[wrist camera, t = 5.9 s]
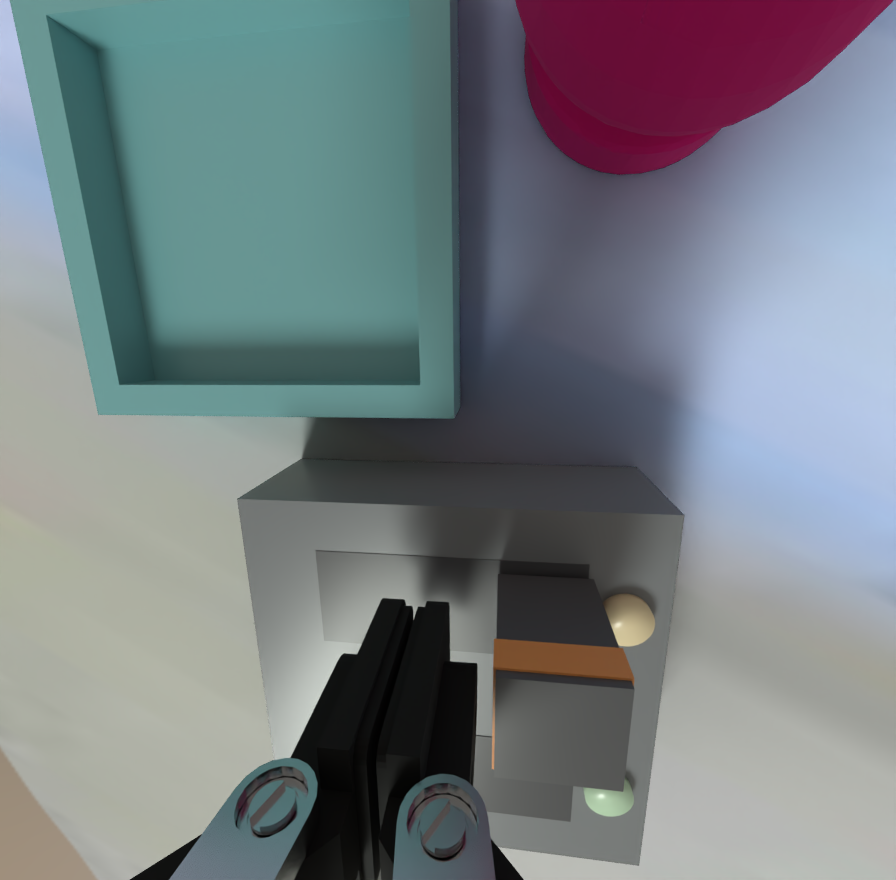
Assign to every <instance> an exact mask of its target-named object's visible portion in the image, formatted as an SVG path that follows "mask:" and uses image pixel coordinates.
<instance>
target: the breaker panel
mask: <svg viewBox="0 0 896 880" xmlns="http://www.w3.org/2000/svg"><path fill="white" fill-rule="evenodd" d="M237 500H238V508H239V515H240V522H241V529H242V536H243V543H244V550H245V557H246V564H247V572H248V579H249V586H250V593H251V600H252V607H253V614H254V621H255V628H256V636H257V643H258V650H259V657H260V664H261V671H262V678H263V685H264V692H265V699H266V707H267V714H268V721H269V728H270V735H271V742H272V749H273V756H274V760H277V759H282V758H290V757H291V755H292V753H293V751H294V749H295V747H296V745H297V743H298V741H299V739H300V737H301V735H302V733H303V731H304V729H305V727H306V725H307V723H308V721H309V719H310V717H311V715H312V712H313V710H314V708H315V706H316V704H317V702H318V700H319V698H320V696H321V694H322V692H323V690H324V688H325V686H326V684H327V682H328V680H329V678H330V676H331V674H332V672H333V670H334V668H335V665H336V663H337V661H338V660H339V658H340V656H341V655H342V654H344V653H346V654H358V651H359V649H360V647H361V645H362V642H363V640H364V638H365V635H366V633H367V631H368V629H369V626H370V624H371V622H372V619H373V617H374V615H375V613H376V610H377V608H378V606H379V604H380V601H381V600H382V599H383V598H389V599H404V600H405V602H406V606H412V607H413V617H415V614H416V611H417V608H418V607H425V605H426V602H427V601H440V602H449V605H450V661H453V662H467V663H477V667H478V678H477V724H476V744H475V763H474V782H473V787H474V788H475V789H476V790H477V791H478V793H479V794H480V796H481V798H482V799H483V801H484V803H485V807H486V811H487V814H488V819H489V828H490V836H491V839H492V840H493V842H494V843H495V844H496V845H497V847H502V848H510V849H517V850H525V851H532V852H540V853H547V854H555V855H562V856H570V857H577V858H585V859H593V860H600V861H608V862H615V863H623V864H630V865H638V866H639V861H640V854H641V846H642V838H643V831H644V823H645V815H646V807H647V800H648V792H649V784H650V777H651V769H652V761H653V753H654V746H655V738H656V730H657V723H658V715H659V707H660V699H661V692H662V684H663V676H664V669H665V661H666V653H667V646H668V638H669V630H670V622H671V615H672V607H673V599H674V592H675V584H676V576H677V568H678V561H679V553H680V545H681V538H682V530H683V522H684V514H683V513H682V512H681V511H680V510H679V509H678V508H677V507H676V506H675V505H674V504H673V503H672V502H671V501H670V500H669V499H668V498H667V497H666V496H665V495H664V494H663V493H662V492H661V491H660V490H659V489H658V488H657V487H656V486H655V485H654V484H653V483H652V482H651V481H650V480H649V479H648V478H647V477H646V476H645V475H644V474H643V473H642V472H641V471H640V470H639V469H638V468H637V467H614V466H572V465H531V464H489V463H447V462H405V461H363V460H321V459H300V460H299V461H297V462H296V463H294V464H292V465H291V466H289V467H288V468H286V469H284V470H283V471H281V472H280V473H278V474H276V475H275V476H273V477H272V478H270V479H268V480H267V481H265V482H264V483H262V484H260V485H259V486H257V487H256V488H254V489H252V490H251V491H249V492H248V493H246V494H244V495H243V496H241V497H240V498H238V499H237ZM498 574H510V575H528V576H547V577H565V578H583V579H594V581H595V583H596V586H597V589H598V592H599V594H600V597H601V600H602V602H603V605H604V608H605V610H606V613H607V616H608V619H609V621H610V624H611V627H612V629H613V632H614V635H615V638H616V640H617V643H618V646H619V648H623V650H624V652H625V655H626V658H627V660H628V663H629V665H630V668H631V671H632V673H633V676H634V689H635V691H634V700H633V709H632V718H631V727H630V736H629V745H628V754H627V763H626V772H625V781H624V790H623V792H620V791H611V790H602V789H594V788H585V787H576V786H567V785H558V784H549V783H541V782H532V781H523V780H514V779H505V778H497V777H494V769H492V715H493V657H494V639H496V635H497V587H498Z"/></svg>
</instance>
